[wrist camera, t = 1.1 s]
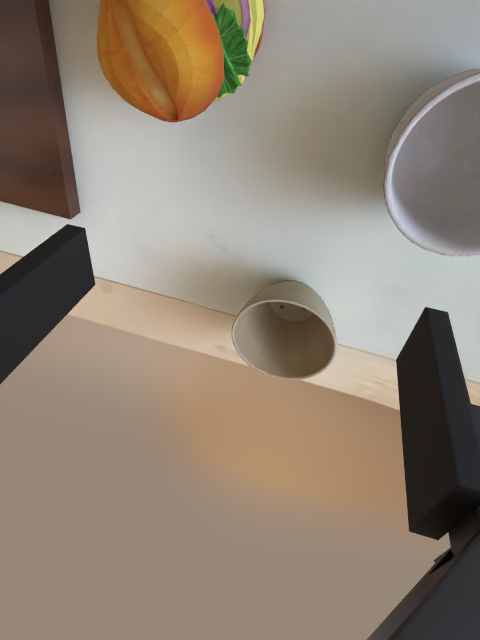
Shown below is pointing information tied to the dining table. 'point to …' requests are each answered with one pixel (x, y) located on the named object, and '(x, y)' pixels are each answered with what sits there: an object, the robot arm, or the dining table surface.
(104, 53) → the cheeseburger
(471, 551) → the robot arm
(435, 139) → the teacup
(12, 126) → the serving board
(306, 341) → the bowl
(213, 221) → the dining table surface
